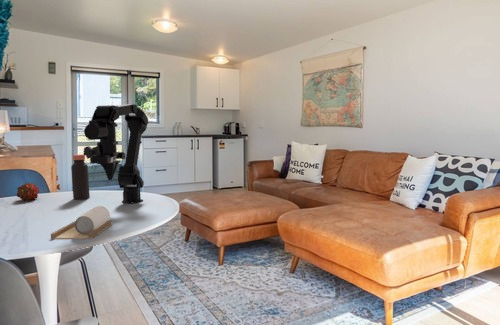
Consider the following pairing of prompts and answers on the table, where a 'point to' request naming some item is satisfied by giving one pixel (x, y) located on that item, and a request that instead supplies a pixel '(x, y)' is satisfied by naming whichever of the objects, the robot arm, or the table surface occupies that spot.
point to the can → (92, 220)
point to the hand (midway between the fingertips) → (110, 179)
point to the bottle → (80, 178)
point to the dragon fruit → (27, 191)
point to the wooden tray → (71, 232)
